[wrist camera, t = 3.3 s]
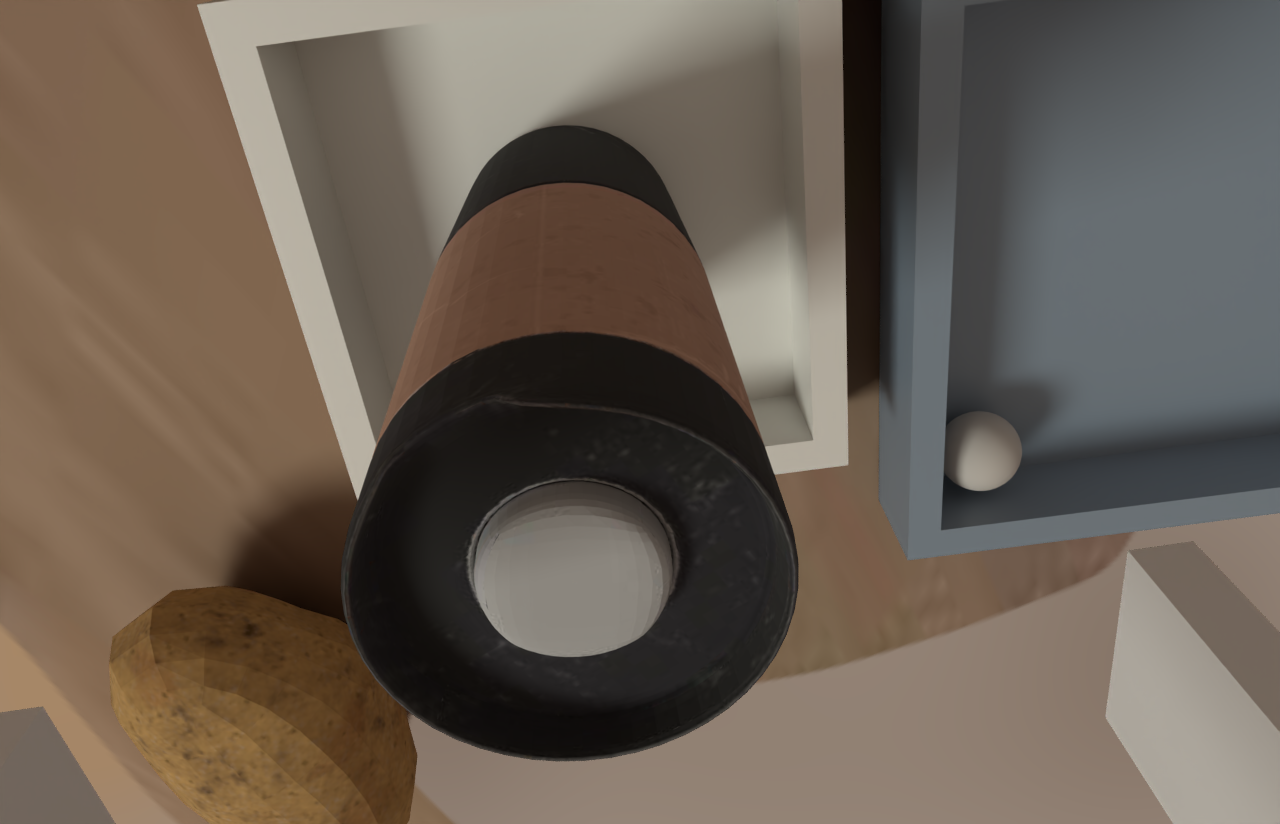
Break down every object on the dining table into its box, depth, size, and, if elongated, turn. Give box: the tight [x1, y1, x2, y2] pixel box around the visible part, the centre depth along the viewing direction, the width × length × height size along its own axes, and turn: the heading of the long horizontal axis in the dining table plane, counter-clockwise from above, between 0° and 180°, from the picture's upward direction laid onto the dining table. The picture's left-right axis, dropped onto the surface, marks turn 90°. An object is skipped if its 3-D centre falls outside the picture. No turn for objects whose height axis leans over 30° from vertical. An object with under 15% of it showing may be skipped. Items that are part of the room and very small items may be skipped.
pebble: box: [944, 411, 1022, 491], centre depth 35 cm, size 3×3×3 cm
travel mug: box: [341, 125, 798, 761], centre depth 24 cm, size 8×8×20 cm
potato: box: [109, 586, 417, 824], centre depth 37 cm, size 10×14×8 cm
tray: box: [197, 0, 848, 500], centre depth 31 cm, size 17×17×4 cm
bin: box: [879, 0, 1280, 560], centre depth 32 cm, size 20×20×4 cm
